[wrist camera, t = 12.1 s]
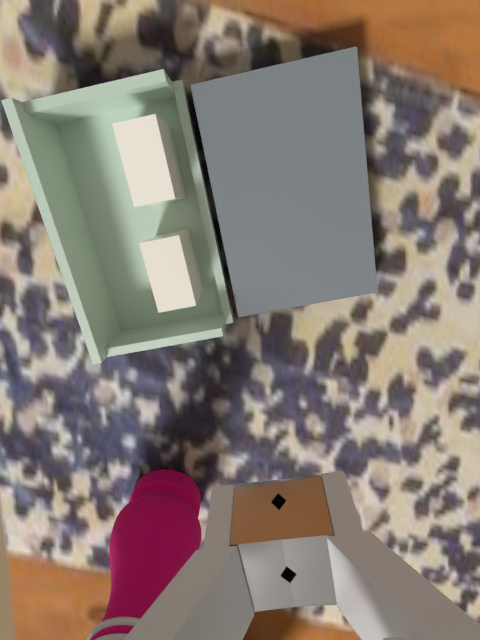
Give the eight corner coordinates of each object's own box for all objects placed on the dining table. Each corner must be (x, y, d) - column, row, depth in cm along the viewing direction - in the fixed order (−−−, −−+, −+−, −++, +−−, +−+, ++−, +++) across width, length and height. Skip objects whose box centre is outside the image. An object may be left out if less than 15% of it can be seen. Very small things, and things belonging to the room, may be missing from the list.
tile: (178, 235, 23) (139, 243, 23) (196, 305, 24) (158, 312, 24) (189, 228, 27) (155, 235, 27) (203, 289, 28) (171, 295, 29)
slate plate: (348, 58, 24) (357, 46, 22) (368, 285, 28) (377, 292, 27) (194, 93, 25) (190, 84, 23) (238, 309, 29) (238, 317, 27)
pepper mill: (148, 450, 33) (21, 785, 15) (220, 484, 35) (188, 837, 16) (116, 506, 36) (-32, 864, 17) (184, 536, 37) (118, 905, 18)
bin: (185, 86, 24) (170, 60, 20) (233, 316, 29) (231, 339, 25) (47, 118, 25) (1, 100, 20) (117, 337, 30) (93, 364, 25)
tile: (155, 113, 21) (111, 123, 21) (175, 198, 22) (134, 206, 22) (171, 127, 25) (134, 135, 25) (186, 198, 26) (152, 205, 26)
